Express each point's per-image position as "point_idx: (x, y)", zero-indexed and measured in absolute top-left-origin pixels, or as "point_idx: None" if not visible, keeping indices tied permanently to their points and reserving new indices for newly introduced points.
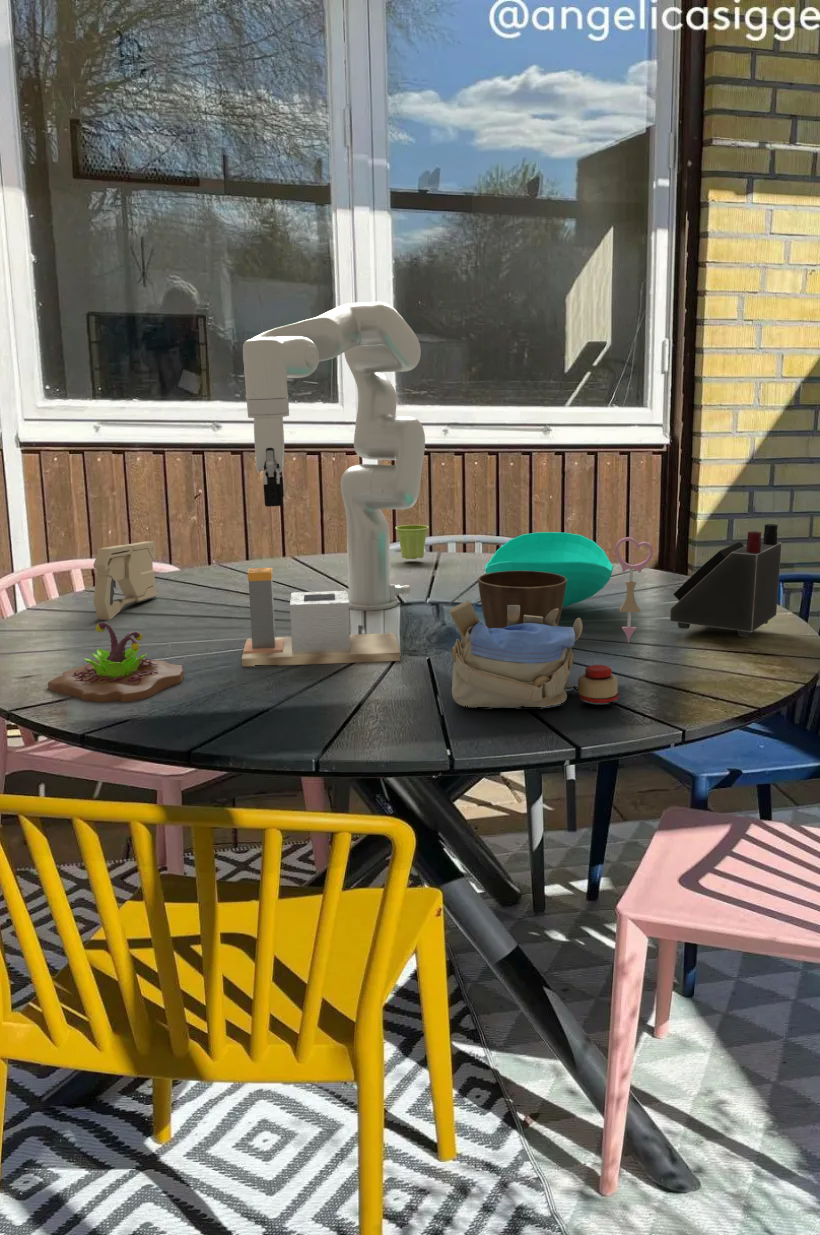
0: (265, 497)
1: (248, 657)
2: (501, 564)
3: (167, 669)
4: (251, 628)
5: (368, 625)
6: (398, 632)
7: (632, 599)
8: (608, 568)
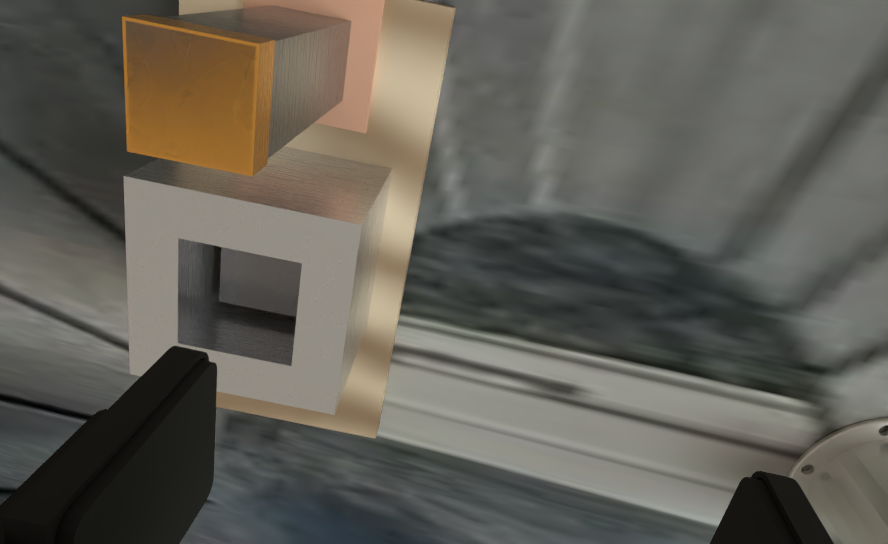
0: (126, 405)
1: None
2: None
3: None
4: (246, 8)
5: (572, 411)
6: (461, 454)
7: None
8: None
